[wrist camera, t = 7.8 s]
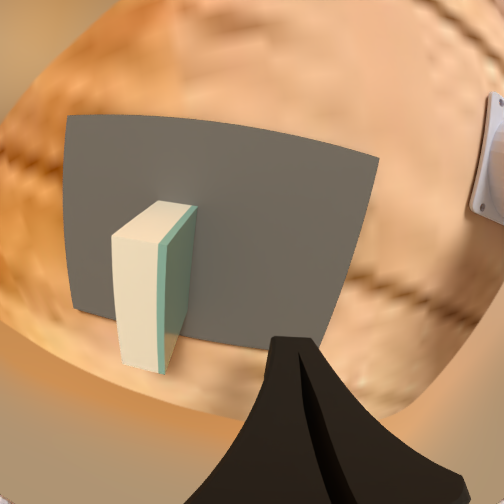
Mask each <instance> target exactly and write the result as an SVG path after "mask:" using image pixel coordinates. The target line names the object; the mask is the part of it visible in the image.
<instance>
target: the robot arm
mask: <svg viewBox="0 0 504 504" xmlns="http://www.w3.org/2000/svg"><path fill="white" fill-rule="evenodd" d="M499 102H500V104H499ZM481 204H482V206H481ZM480 206H481V209H480ZM469 207H470V210H471V211H472V212H474V213H476V214H479V215H481V216H483V217H486V218H488V219H490V220H493V221H495V222H497V223H499V224H501V225H504V98H503V97H502V96H501V95H499V94H498V93H497V92H490V93H489V96H488V107H487V117H486V125H485V132H484V139H483V145H482V151H481V156H480V161H479V166H478V171H477V175H476V179H475V184H474V188H473V192H472V195H471V199H470V204H469ZM470 500H471V498H470V495H469V492H468V489H467V487H466V484H465V482H464V479H463V477H462V476H461V475H459V474H457V473H455V472H453V471H450V470H448V469H446V468H444V467H442V466H440V465H438V464H436V463H434V462H432V461H431V460H429V459H427V458H426V457H424V456H422V455H421V454H419V453H417V452H416V451H414V450H413V449H412V448H410V447H409V446H407V445H406V444H405V443H403V442H402V441H401V440H400V439H398V438H397V437H396V436H394V435H393V434H392V433H391V432H389V431H388V430H387V429H386V428H385V427H384V426H382V425H381V424H380V423H379V422H378V421H377V420H376V419H375V418H374V417H373V416H372V415H371V414H370V413H369V412H368V411H367V410H366V409H365V408H364V407H363V406H362V405H361V404H360V402H359V401H358V400H357V399H356V398H355V397H354V396H353V394H352V393H351V392H350V391H349V390H348V388H347V387H346V386H345V385H344V383H343V382H342V381H341V379H340V378H339V377H338V375H337V374H336V373H335V371H334V370H333V369H332V367H331V366H330V364H329V363H328V362H327V360H326V359H325V357H324V356H323V354H322V353H321V351H320V350H319V348H318V347H317V345H316V344H315V342H314V341H313V340H312V338H307V337H286V336H274V337H272V338H271V341H270V346H269V352H268V357H267V363H266V368H265V373H264V381H263V384H262V387H261V389H260V391H259V394H258V396H257V399H256V401H255V403H254V406H253V408H252V410H251V412H250V414H249V416H248V418H247V420H246V421H245V423H244V425H243V427H242V429H241V430H240V432H239V434H238V435H237V437H236V439H235V440H234V442H233V443H232V445H231V446H230V448H229V450H228V451H227V453H226V454H225V455H224V457H223V458H222V459H221V461H220V462H219V463H218V465H217V466H216V467H215V469H214V470H213V471H212V472H211V474H210V475H209V476H208V478H207V479H206V480H205V481H204V482H203V483H202V485H201V486H200V487H199V488H198V489H197V490H196V491H195V492H194V493H193V494H192V495H191V497H190V498H189V499H188V500H187V501H186V502H185V503H184V504H469V502H470ZM0 504H15V503H13V502H11V501H10V500H8V499H6V498H5V497H4V496H2V495H1V494H0ZM497 504H504V499H502V500H501V501H500V502H498V503H497Z"/></svg>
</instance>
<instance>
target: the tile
mask: <svg viewBox="0 0 504 504" xmlns="http://www.w3.org/2000/svg"><path fill="white" fill-rule="evenodd" d="M197 209H198V206H192V205H185V204H179V203H172V202H165V201H159V200H158V201H157V202H155V203H154V204H153V205H151V206H150V207H148V208H147V209H146V210H144V211H143V212H142V213H140V214H139V215H138V216H136V217H135V218H134V219H132V220H131V221H130V222H128V223H127V224H126V225H124V226H123V227H122V228H120V229H119V230H118V231H117V232H115V233H114V234H113V235H112V236H111V241H112V272H113V288H114V301H115V312H116V321H117V330H118V338H119V345H120V352H121V358H122V364H125V365H128V366H132V367H136V368H140V369H143V370H147V371H151V372H155V373H160V374H164V375H165V374H166V371H167V368H168V365H169V362H170V359H171V356H172V353H173V350H174V347H175V344H176V342H177V339H178V336H179V333H180V330H181V327H182V325H183V322H184V319H185V316H186V314H187V311H188V298H189V286H190V274H191V263H192V253H193V244H194V234H195V226H196V217H197Z"/></svg>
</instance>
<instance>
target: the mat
mask: <svg viewBox="0 0 504 504" xmlns="http://www.w3.org/2000/svg"><path fill="white" fill-rule="evenodd" d="M378 163H379V158H378V157H374V156H371V155H368V154H365V153H361V152H358V151H354V150H351V149H347V148H344V147H340V146H336V145H332V144H329V143H325V142H321V141H317V140H312V139H308V138H304V137H299V136H295V135H290V134H285V133H280V132H275V131H270V130H265V129H259V128H253V127H247V126H241V125H235V124H228V123H220V122H213V121H204V120H195V119H185V118H174V117H160V116H142V115H70V116H67V124H66V134H65V146H64V163H63V220H64V237H65V249H66V259H67V268H68V276H69V283H70V290H71V296H72V302H73V308H75V309H78V310H81V311H84V312H88V313H91V314H95V315H98V316H102V317H105V318H109V319H113V320H116V312H115V301H114V288H113V272H112V241H111V236H112V235H113V234H114V233H115V232H117V231H118V230H119V229H120V228H122V227H123V226H124V225H126V224H127V223H128V222H130V221H131V220H132V219H134V218H135V217H136V216H138V215H139V214H140V213H142V212H143V211H144V210H146V209H147V208H148V207H150V206H151V205H153V204H154V203H155V202H157V201H158V200H159V201H165V202H172V203H179V204H185V205H192V206H198V209H197V217H196V226H195V234H194V244H193V253H192V263H191V274H190V286H189V298H188V311H187V314H186V316H185V319H184V322H183V325H182V327H181V330H180V333H179V335H181V336H186V337H191V338H196V339H202V340H207V341H213V342H219V343H225V344H231V345H237V346H244V347H251V348H258V349H265V350H269V346H270V341H271V338H272V337H274V336H286V337H307V338H312V340H313V341H314V342H315V344H316V345H317V347H318V348H319V346H320V344H321V341H322V339H323V336H324V334H325V332H326V329H327V326H328V324H329V321H330V319H331V316H332V314H333V311H334V308H335V306H336V303H337V300H338V297H339V295H340V292H341V289H342V286H343V283H344V281H345V278H346V275H347V272H348V269H349V266H350V263H351V260H352V257H353V254H354V250H355V247H356V244H357V241H358V238H359V234H360V231H361V228H362V224H363V221H364V217H365V214H366V210H367V206H368V203H369V199H370V195H371V191H372V188H373V184H374V180H375V175H376V171H377V167H378Z"/></svg>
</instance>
